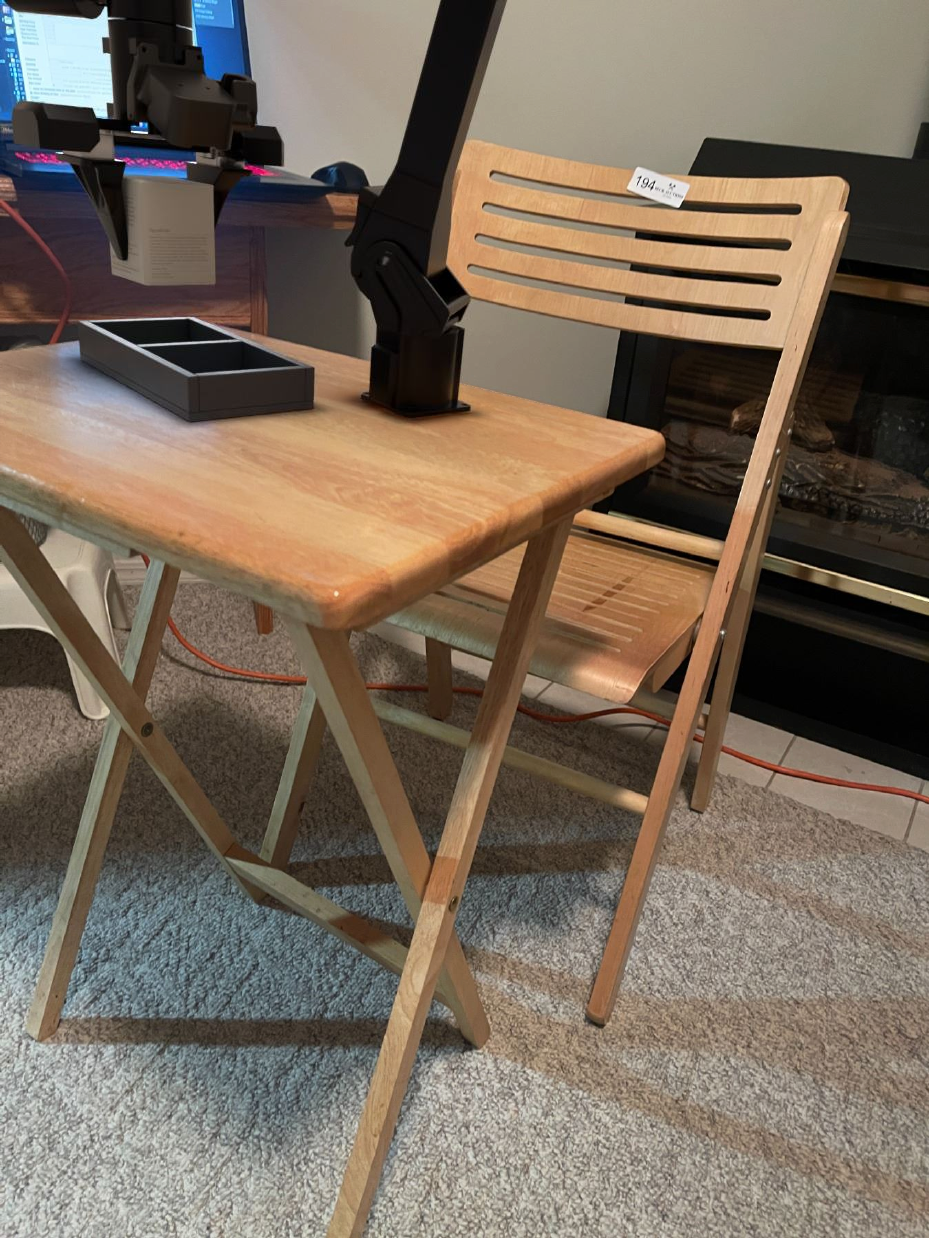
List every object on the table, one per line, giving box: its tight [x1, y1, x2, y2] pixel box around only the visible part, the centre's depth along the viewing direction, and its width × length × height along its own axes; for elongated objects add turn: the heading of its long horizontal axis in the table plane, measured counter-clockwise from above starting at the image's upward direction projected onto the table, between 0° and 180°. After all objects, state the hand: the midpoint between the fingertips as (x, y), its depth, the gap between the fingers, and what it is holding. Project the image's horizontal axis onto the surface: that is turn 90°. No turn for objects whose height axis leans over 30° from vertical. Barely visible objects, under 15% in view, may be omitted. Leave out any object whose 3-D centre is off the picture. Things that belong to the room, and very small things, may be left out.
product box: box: [109, 174, 217, 287], centre depth 72 cm, size 6×6×7 cm
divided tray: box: [76, 316, 316, 423], centre depth 73 cm, size 10×19×3 cm, turn 41°
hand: (162, 260), depth 73 cm, fingers closed on product box, 6 cm apart
